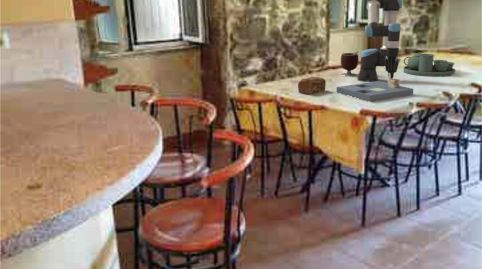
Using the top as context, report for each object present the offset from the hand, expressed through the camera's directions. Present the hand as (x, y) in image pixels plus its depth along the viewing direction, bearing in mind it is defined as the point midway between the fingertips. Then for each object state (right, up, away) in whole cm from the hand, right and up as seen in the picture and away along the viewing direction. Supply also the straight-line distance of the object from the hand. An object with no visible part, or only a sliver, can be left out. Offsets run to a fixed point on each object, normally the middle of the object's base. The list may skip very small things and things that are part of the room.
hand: (390, 82), depth 323 cm
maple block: (+2, -3, -2) cm, 4 cm away
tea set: (+54, +16, +72) cm, 92 cm away
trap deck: (-12, -8, -3) cm, 14 cm away
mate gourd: (-13, +13, +65) cm, 67 cm away
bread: (-52, -6, +7) cm, 53 cm away
